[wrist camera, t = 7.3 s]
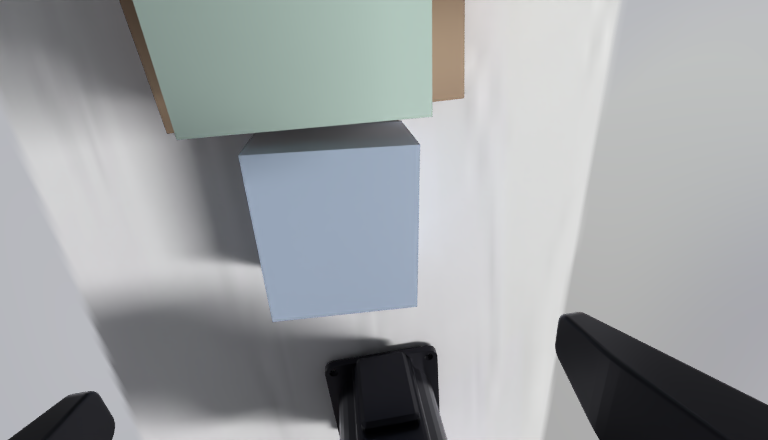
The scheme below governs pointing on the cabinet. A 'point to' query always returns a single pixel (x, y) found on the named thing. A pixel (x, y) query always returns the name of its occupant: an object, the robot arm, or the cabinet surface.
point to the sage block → (288, 62)
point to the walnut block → (444, 53)
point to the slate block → (335, 217)
